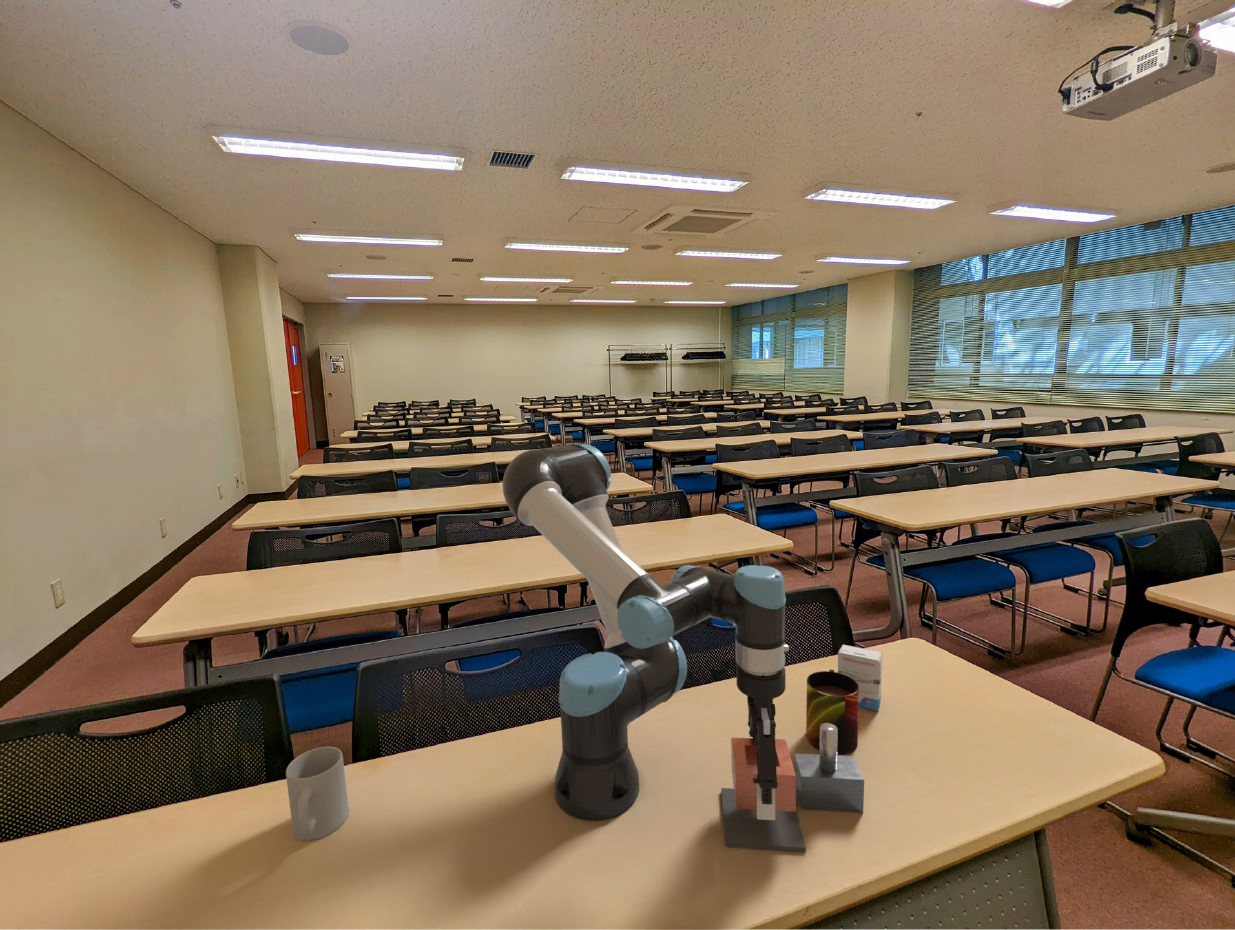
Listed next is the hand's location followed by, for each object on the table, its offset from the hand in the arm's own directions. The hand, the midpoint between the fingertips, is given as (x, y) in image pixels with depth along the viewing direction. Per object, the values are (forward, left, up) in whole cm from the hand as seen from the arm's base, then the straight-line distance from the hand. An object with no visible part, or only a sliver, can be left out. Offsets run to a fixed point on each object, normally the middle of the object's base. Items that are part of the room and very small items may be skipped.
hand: (761, 795), depth 92 cm
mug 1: (-73, -8, -5) cm, 74 cm away
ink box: (+26, +37, -5) cm, 46 cm away
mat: (0, 0, -5) cm, 5 cm away
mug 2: (+16, +25, -5) cm, 30 cm away
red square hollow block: (0, 0, +1) cm, 1 cm away
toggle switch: (+12, +6, -5) cm, 14 cm away
